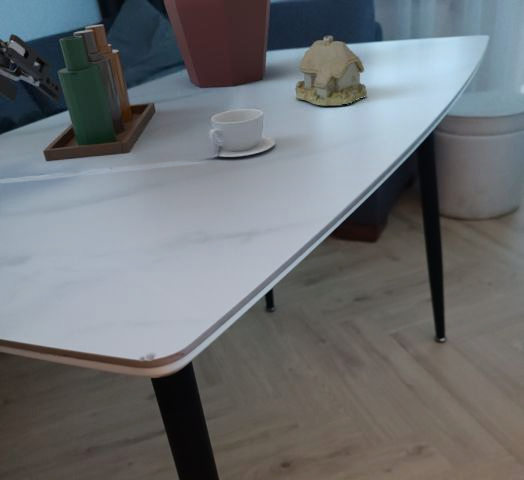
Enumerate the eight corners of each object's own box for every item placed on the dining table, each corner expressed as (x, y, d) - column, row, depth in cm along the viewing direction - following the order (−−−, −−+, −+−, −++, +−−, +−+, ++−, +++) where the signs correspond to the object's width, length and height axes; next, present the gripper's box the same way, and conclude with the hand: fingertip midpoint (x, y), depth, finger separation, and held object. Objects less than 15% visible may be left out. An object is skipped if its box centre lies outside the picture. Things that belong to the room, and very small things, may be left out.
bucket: (302, 71, 130) (294, -68, 116) (230, 95, 117) (211, -58, 103) (225, 67, 145) (210, -57, 130) (154, 87, 132) (129, -48, 118)
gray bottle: (85, 138, 97) (58, 36, 89) (94, 128, 102) (69, 31, 94) (121, 134, 97) (97, 31, 88) (128, 125, 102) (106, 26, 93)
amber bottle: (96, 127, 103) (71, 30, 95) (103, 118, 108) (81, 25, 100) (129, 123, 103) (108, 26, 94) (136, 115, 108) (116, 21, 99)
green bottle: (74, 151, 92) (44, 43, 83) (84, 140, 96) (56, 37, 88) (112, 147, 91) (86, 38, 83) (120, 136, 96) (96, 32, 88)
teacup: (245, 135, 92) (241, 103, 89) (289, 145, 86) (286, 110, 83) (193, 153, 87) (187, 120, 84) (236, 164, 80) (231, 129, 78)
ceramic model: (380, 95, 105) (381, 31, 99) (335, 110, 99) (333, 43, 94) (324, 88, 114) (321, 29, 108) (280, 101, 109) (275, 40, 103)
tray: (47, 166, 89) (42, 150, 88) (89, 122, 110) (86, 109, 109) (129, 158, 88) (126, 142, 87) (156, 115, 109) (153, 102, 108)
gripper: (-17, -23, 65) (82, 69, 79) (-99, -14, 71) (7, 70, 85) (-38, 39, 64) (66, 121, 79) (-118, 43, 70) (-8, 118, 85)
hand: (35, 94), depth 82 cm, fingers open, 8 cm apart
